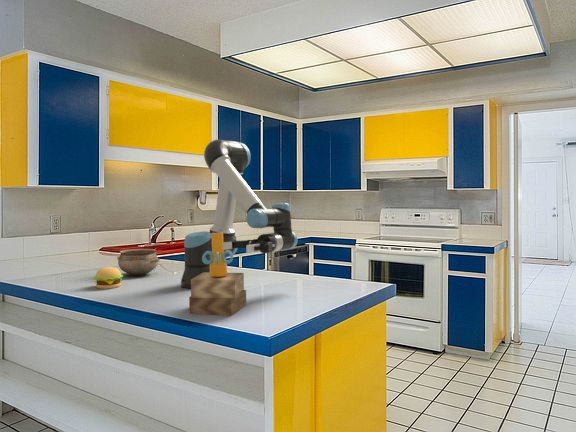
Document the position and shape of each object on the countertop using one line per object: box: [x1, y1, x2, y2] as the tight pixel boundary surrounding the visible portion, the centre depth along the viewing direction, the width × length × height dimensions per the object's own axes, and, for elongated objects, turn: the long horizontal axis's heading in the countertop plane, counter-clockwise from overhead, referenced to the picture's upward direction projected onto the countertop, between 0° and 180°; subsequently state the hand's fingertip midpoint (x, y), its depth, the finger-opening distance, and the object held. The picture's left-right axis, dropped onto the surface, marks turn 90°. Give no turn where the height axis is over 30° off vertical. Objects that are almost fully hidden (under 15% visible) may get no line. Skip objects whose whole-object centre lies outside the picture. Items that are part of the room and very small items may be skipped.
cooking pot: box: [116, 248, 161, 277], centre depth 229 cm, size 25×19×12 cm
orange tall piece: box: [202, 233, 234, 277], centre depth 159 cm, size 12×10×15 cm
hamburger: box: [93, 266, 124, 290], centre depth 200 cm, size 12×12×9 cm
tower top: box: [190, 272, 245, 298], centre depth 160 cm, size 15×15×6 cm
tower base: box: [188, 289, 247, 317], centre depth 160 cm, size 15×15×6 cm
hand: (232, 248), depth 164 cm, fingers open, 13 cm apart
